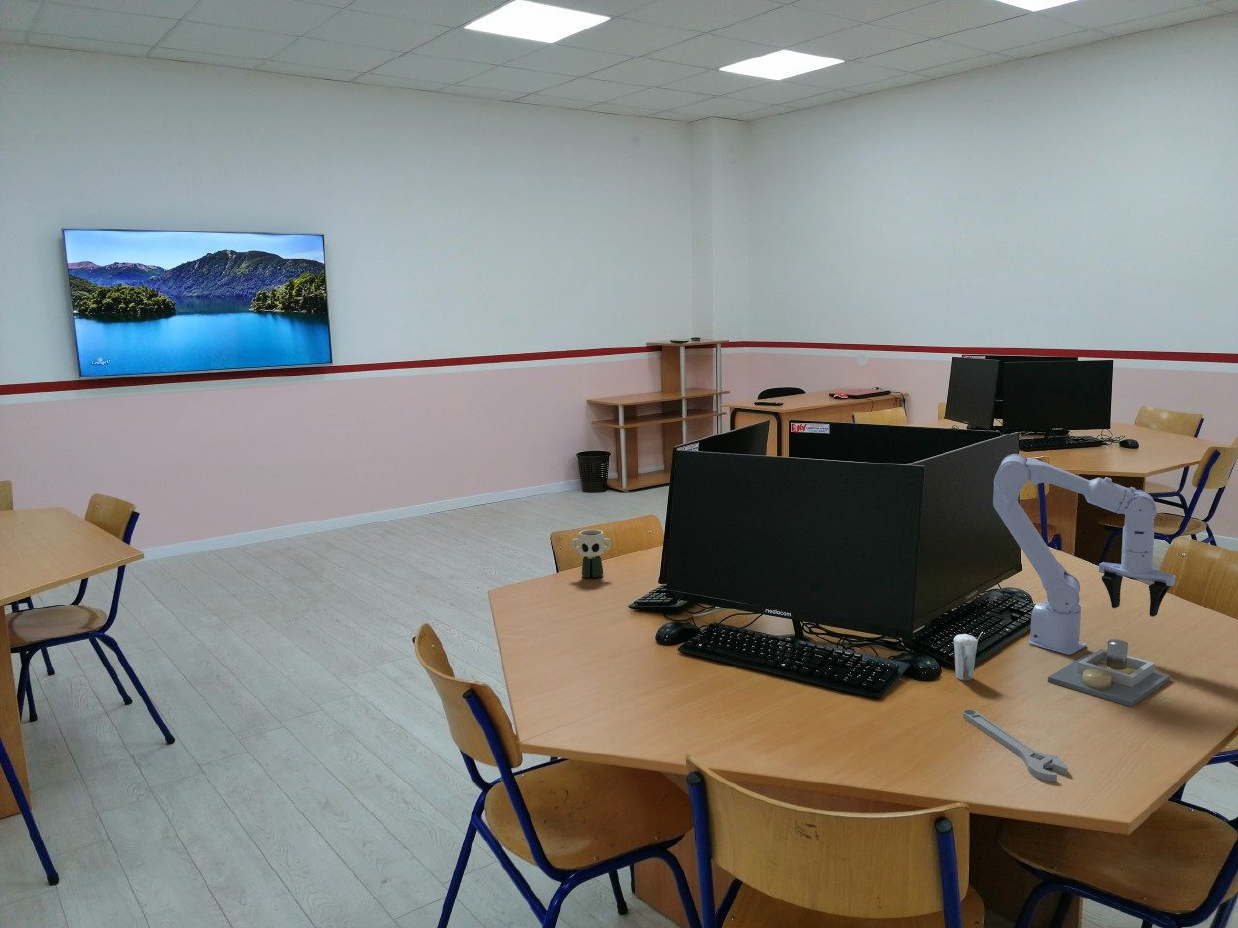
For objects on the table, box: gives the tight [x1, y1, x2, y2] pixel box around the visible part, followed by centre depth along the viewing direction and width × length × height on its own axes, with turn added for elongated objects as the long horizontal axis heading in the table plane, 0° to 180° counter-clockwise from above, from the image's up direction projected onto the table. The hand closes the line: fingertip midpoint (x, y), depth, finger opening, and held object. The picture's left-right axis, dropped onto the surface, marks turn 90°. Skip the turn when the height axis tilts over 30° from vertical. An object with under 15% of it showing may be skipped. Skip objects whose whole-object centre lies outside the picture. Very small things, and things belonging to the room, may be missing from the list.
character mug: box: [572, 529, 611, 578], centre depth 266 cm, size 11×7×13 cm, turn 85°
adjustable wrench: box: [962, 708, 1069, 783], centre depth 162 cm, size 25×6×2 cm, turn 10°
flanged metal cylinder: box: [1097, 639, 1136, 674], centre depth 188 cm, size 7×7×6 cm
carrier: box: [1047, 648, 1171, 708], centre depth 186 cm, size 16×18×3 cm
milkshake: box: [953, 631, 983, 682], centre depth 189 cm, size 4×5×10 cm
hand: (1134, 611), depth 197 cm, fingers open, 7 cm apart
